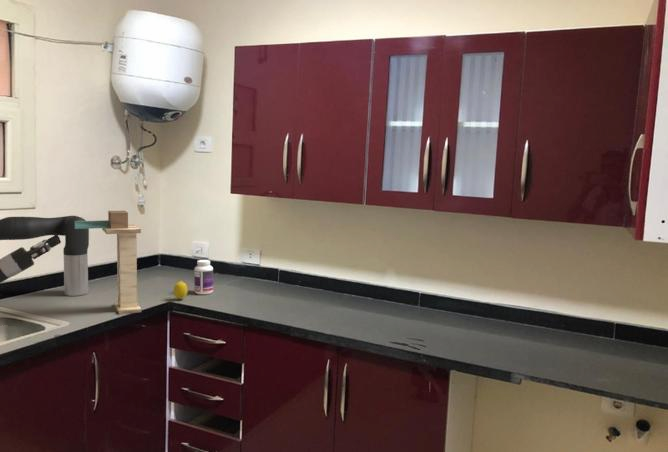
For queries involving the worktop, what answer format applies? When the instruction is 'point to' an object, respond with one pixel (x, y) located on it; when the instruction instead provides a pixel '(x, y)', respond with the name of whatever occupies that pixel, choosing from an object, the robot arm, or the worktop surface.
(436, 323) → the worktop surface
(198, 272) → the pill bottle
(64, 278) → the robot arm
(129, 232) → the stand
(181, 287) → the lemon
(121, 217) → the mallet
